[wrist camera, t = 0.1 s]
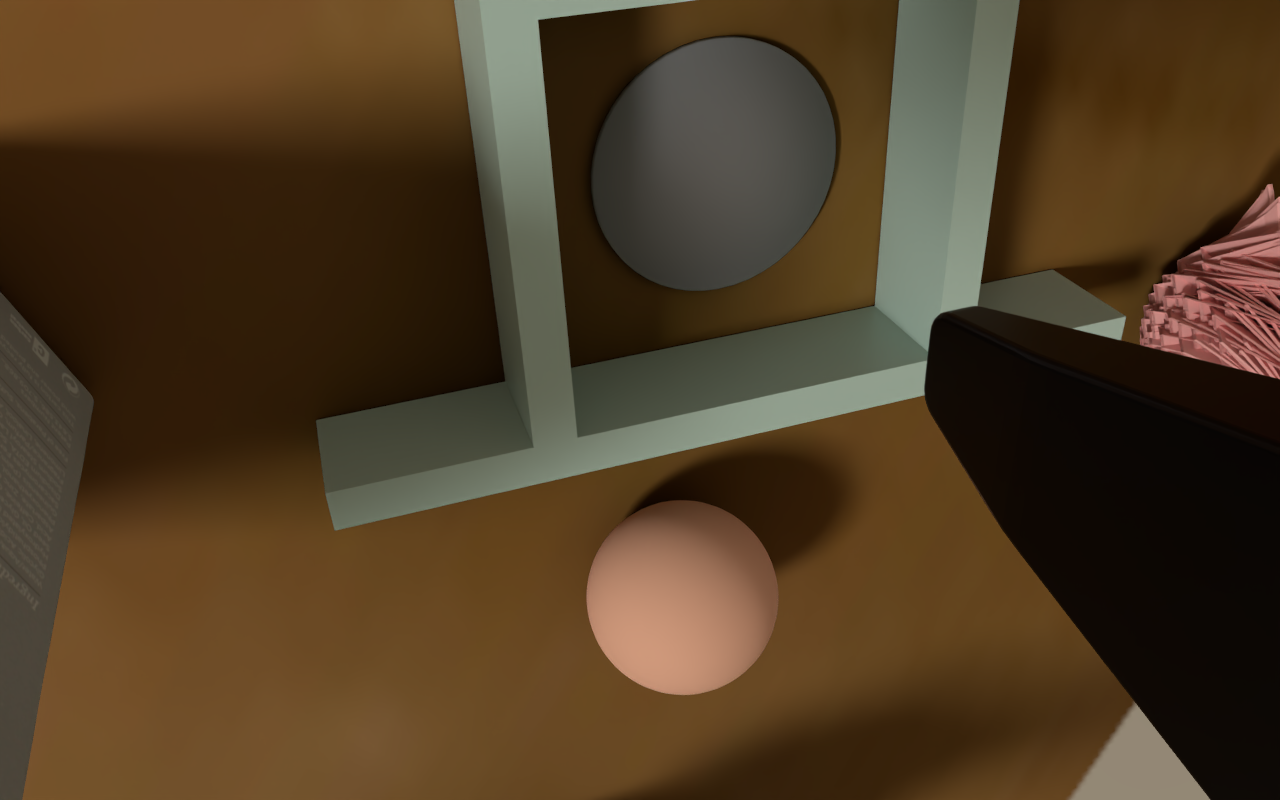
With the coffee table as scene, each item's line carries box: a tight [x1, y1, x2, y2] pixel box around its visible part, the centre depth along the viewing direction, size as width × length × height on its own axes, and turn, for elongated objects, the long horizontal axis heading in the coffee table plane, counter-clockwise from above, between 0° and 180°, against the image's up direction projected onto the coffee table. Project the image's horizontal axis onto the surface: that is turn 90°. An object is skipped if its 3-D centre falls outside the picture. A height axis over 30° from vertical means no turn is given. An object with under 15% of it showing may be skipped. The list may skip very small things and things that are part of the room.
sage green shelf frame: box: [316, 0, 1126, 530], centre depth 24 cm, size 11×20×3 cm, turn 93°
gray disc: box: [591, 36, 836, 291], centre depth 25 cm, size 6×6×1 cm
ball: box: [587, 500, 778, 695], centre depth 28 cm, size 5×5×5 cm
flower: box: [1140, 184, 1280, 379], centre depth 29 cm, size 8×8×6 cm
